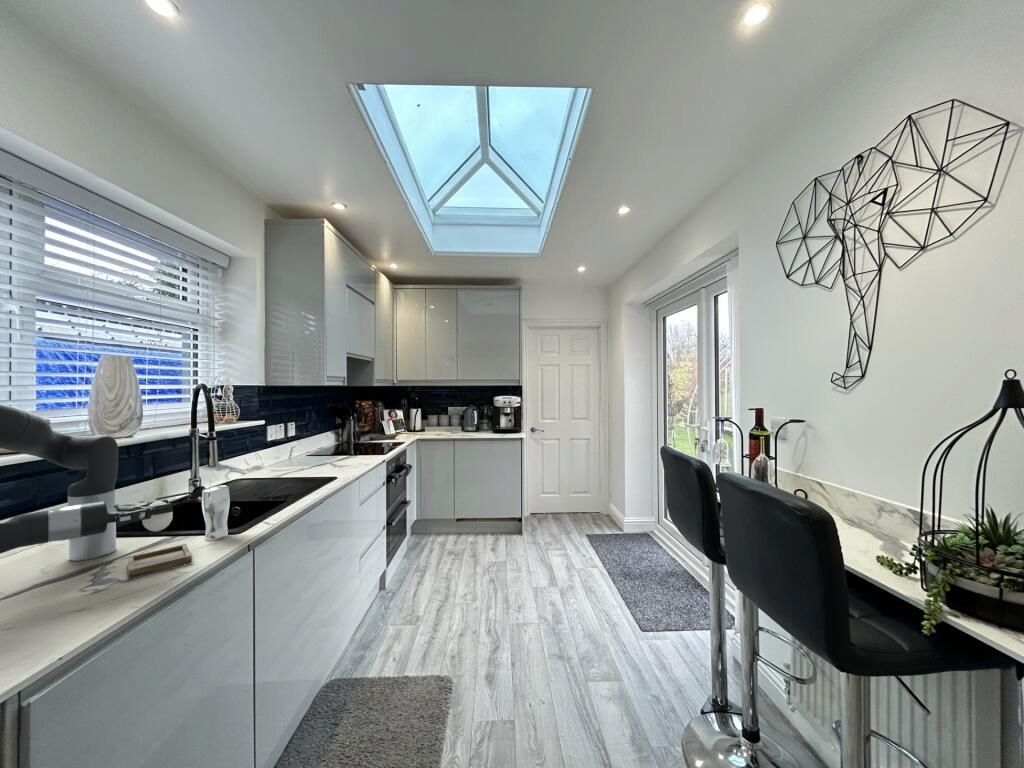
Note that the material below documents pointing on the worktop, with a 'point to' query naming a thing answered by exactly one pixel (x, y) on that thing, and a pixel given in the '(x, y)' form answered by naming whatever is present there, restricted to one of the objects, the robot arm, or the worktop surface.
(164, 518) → the egg
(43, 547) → the worktop surface
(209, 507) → the beer glass
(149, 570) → the walnut tray
